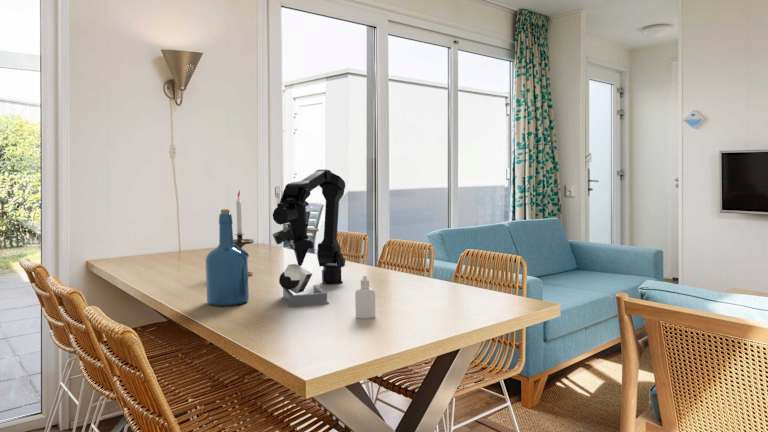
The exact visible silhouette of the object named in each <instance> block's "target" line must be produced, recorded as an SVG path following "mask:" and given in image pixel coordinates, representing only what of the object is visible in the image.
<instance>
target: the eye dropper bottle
mask: <svg viewBox="0 0 768 432" xmlns="http://www.w3.org/2000/svg"><path fill="white" fill-rule="evenodd" d="M354 294H355V296H354V297H355V300H354V301H355V306H354V307H355V318H356V319H365V320H366V319H368V320H370V319H374V318H376V290H374V289H373V288H371V287H370V279H368V278H367V274H364V275H363V277H362V279H361V280H360V288H358V289H356V290H355V293H354Z"/></svg>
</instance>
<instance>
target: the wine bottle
mask: <svg viewBox="0 0 768 432" xmlns="http://www.w3.org/2000/svg"><path fill="white" fill-rule="evenodd" d="M218 217H219V218H218V225H219V229H218V230H219V232H218V233H219V234H218V235H219V241H218V242H219V243H218V245H217V247H215V248H213V249H211V250H210V251H209V252H208V254H207V256H206V258H205V275H206V276H205V277H206V278H205V279H206V282H205V283H206V301H207V303H208V304H209V305H211V306H216V307H231V306H236V305H237V306H238V304H239V305H242V304H244V303H247V302H248V301H249V298H250V291H249V289H250V288H249V287H250V285H249V277H248V272H249V257H250V254H249V253H248V252H247V251H246V250H244V248H242V249H241V248H240V247H239V246H237V245H236V244H235V243H233V240H234V231H233V225H234V224H233V216H232V213H231V212H230V209H228V208H225V209H221V210H220V213H219V216H218Z"/></svg>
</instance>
